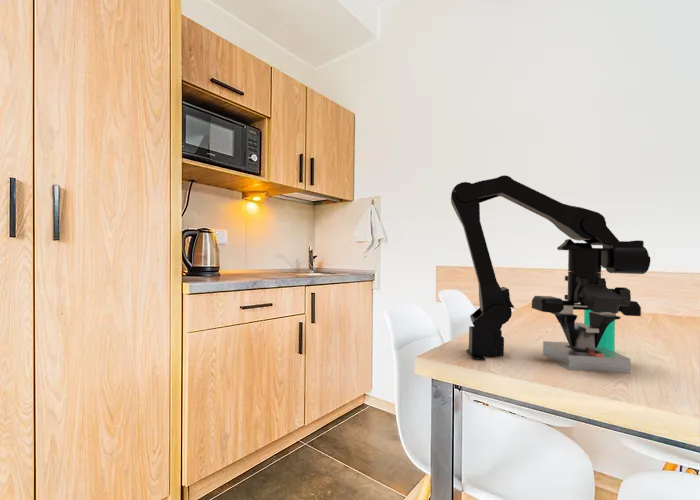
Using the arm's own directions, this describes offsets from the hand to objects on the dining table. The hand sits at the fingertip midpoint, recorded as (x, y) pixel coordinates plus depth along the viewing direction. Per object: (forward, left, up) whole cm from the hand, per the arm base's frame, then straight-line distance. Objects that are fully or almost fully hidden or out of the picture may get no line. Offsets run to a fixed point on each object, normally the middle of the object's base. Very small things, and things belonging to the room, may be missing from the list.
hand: (583, 346), depth 71 cm
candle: (+10, +12, -4) cm, 16 cm away
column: (0, 0, -3) cm, 3 cm away
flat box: (0, 0, -4) cm, 4 cm away
